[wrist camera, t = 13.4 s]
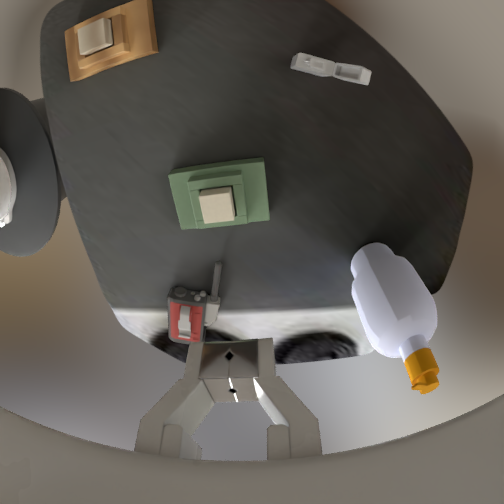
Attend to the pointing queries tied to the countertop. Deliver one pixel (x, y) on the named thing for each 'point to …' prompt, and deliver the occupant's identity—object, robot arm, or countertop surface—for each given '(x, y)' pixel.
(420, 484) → the robot arm
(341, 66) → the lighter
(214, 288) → the walkie-talkie
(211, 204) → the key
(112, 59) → the key block
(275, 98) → the countertop surface
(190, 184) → the key block
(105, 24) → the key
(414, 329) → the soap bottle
